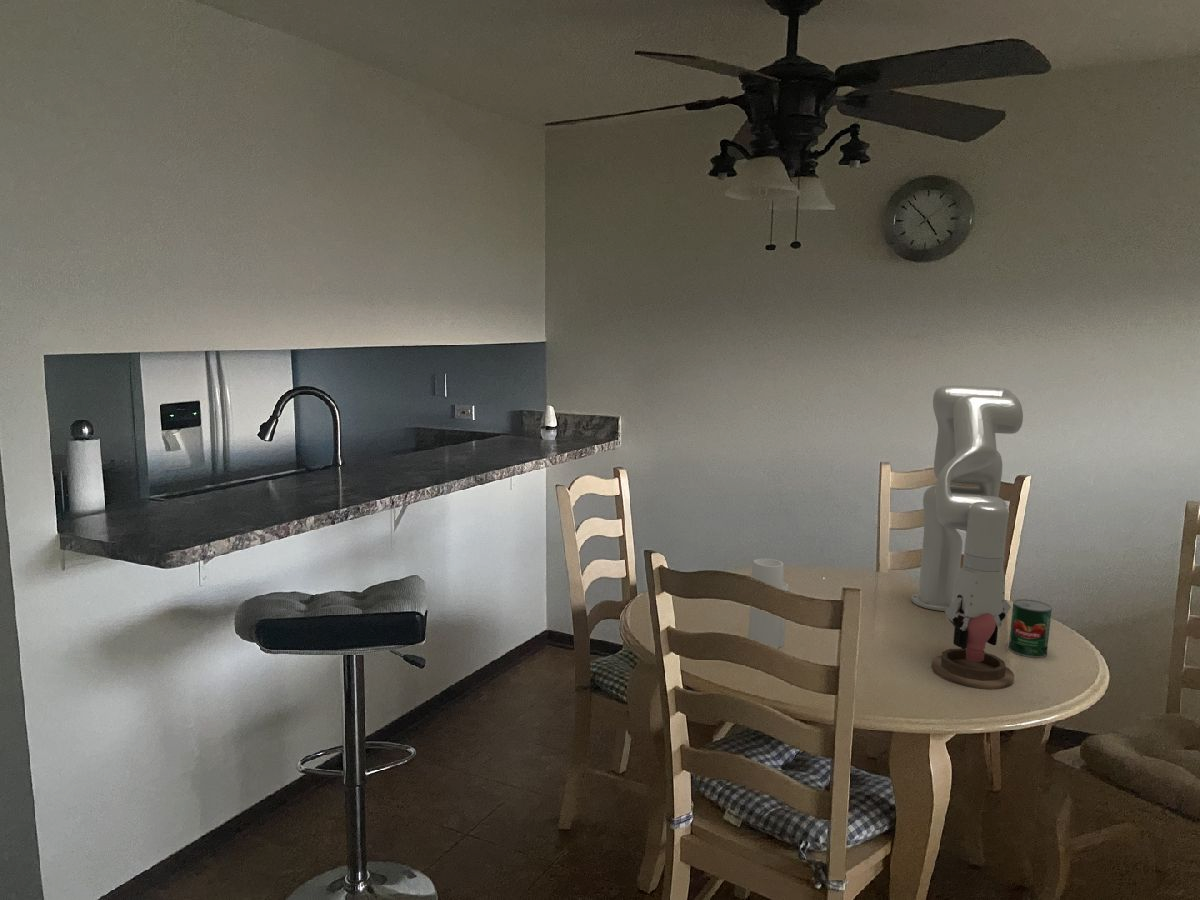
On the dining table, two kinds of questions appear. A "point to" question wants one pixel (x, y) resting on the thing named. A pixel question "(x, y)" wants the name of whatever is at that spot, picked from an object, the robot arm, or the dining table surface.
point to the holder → (973, 670)
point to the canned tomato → (1030, 628)
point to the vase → (761, 622)
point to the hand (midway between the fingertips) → (974, 644)
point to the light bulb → (979, 636)
